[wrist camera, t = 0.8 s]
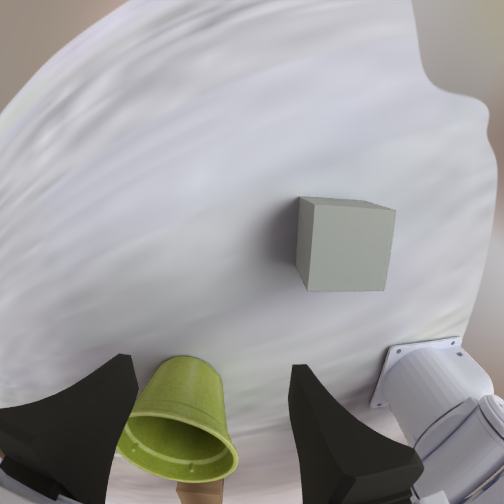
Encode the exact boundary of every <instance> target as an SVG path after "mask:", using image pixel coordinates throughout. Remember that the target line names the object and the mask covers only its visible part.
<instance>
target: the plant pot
mask: <svg viewBox="0 0 504 504" xmlns="http://www.w3.org/2000/svg"><path fill="white" fill-rule="evenodd" d="M116 449H117V451H118V452H119V453H120V454H121V455H122V456H123V457H124V458H126V459H127V460H128V461H129V462H131V463H132V464H134V465H135V466H137V467H139V468H140V469H142V470H144V471H146V472H149V473H151V474H154V475H156V476H159V477H162V478H166V479H170V480H174V481H179V482H188V483H201V482H210V481H216V480H219V479H222V478H224V477H226V476H228V475H230V474H231V473H232V472H233V471H234V470H235V469H236V468H237V465H238V453H237V450H236V448H235V447H234V445H233V444H232V442H231V438H230V436H229V434H228V432H227V424H226V416H225V407H224V396H223V384H222V380H221V377H220V375H219V374H217V373H216V372H215V371H214V370H213V369H212V368H211V367H210V365H209V364H208V363H206V362H204V361H202V360H199V359H196V358H193V357H186V356H178V357H173V358H171V359H169V360H167V361H166V362H164V363H162V364H161V365H160V366H159V368H158V369H157V371H156V372H155V374H154V375H153V377H152V378H151V380H150V381H149V382H148V384H147V385H146V387H145V388H144V390H143V391H142V393H141V394H140V396H139V397H138V399H137V400H136V402H135V404H134V407H133V409H132V412H131V414H130V416H129V418H128V421H127V423H126V425H125V427H124V430H123V432H122V434H121V437H120V439H119V441H118V444H117V447H116Z"/></svg>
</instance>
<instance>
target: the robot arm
mask: <svg viewBox="0 0 504 504" xmlns="http://www.w3.org/2000/svg"><path fill="white" fill-rule="evenodd" d="M461 343H462V338H461V337H460V336H459V337H453V338H447V339H441V340H434V341H427V342H420V343H412V344H404V345H395V346H392V347H390V348H389V350H388V353H387V356H386V360H385V363H384V366H383V369H382V372H381V375H380V378H379V381H378V384H377V386H376V389H375V392H374V395H373V397H372V400H371V403H370V407H371V408H380V407H385V406H390V408H391V410H392V412H393V414H394V416H395V418H396V420H397V422H398V424H399V426H400V428H401V430H402V432H403V434H404V436H405V438H406V440H407V442H408V444H409V446H410V447H409V446H406V445H403V444H401V443H398V442H396V441H393V440H391V439H389V438H387V437H385V436H383V435H381V434H379V433H378V432H376V431H374V430H373V429H371V428H370V427H368V426H366V425H365V424H363V423H362V422H360V421H359V420H358V419H356V418H355V417H354V416H353V415H351V414H350V413H349V412H348V411H347V410H346V409H345V408H344V407H342V406H341V405H340V404H339V403H338V402H337V401H336V400H335V398H334V397H333V396H332V395H331V394H330V393H329V392H328V391H327V390H326V388H325V387H324V386H323V385H322V384H321V382H320V381H319V380H318V379H317V377H316V376H315V375H314V373H313V372H312V371H311V369H310V368H309V366H308V365H307V364H301V365H293V366H292V373H291V380H290V387H289V394H288V404H289V415H290V421H291V425H292V430H293V434H294V439H295V443H296V448H297V452H298V457H299V463H300V473H301V484H302V497H303V504H504V469H503V470H502V471H501V472H500V473H498V474H497V475H496V476H495V477H494V478H493V479H492V480H490V481H489V482H488V483H487V484H486V485H485V486H484V487H482V488H481V489H480V490H479V491H477V492H476V493H475V494H473V495H472V496H470V497H468V498H465V497H467V496H468V495H469V494H470V493H472V492H473V491H474V490H476V489H477V488H478V487H479V486H481V485H482V484H483V483H484V482H485V481H486V480H488V479H489V478H490V477H491V476H492V475H493V474H494V473H496V471H498V470H499V469H500V468H501V467H502V466H503V465H504V400H502V399H501V398H500V397H498V396H496V395H494V389H493V385H492V382H491V379H490V377H489V376H488V374H487V373H486V372H485V371H484V370H483V369H482V368H481V367H480V366H479V365H478V364H477V363H476V362H475V361H474V360H473V359H472V357H471V356H469V354H468V353H466V351H465V350H464V349H463V348H461ZM397 350H398V351H397ZM138 389H139V387H138V383H137V379H136V375H135V371H134V367H133V363H132V358H131V355H124V354H118V355H116V356H115V357H113V358H112V359H111V360H109V361H108V362H106V363H105V364H104V365H102V366H101V367H100V368H98V369H97V370H95V371H94V372H93V373H91V374H90V375H88V376H87V377H85V378H84V379H82V380H80V381H79V382H77V383H76V384H74V385H72V386H71V387H69V388H67V389H65V390H63V391H61V392H59V393H57V394H55V395H52V396H50V397H47V398H45V399H42V400H39V401H36V402H33V403H29V404H25V405H21V406H16V407H9V408H1V409H0V449H1V451H2V452H3V453H4V454H5V457H4V459H2V458H1V457H0V504H105V499H106V491H107V485H108V479H109V474H110V469H111V465H112V461H113V457H114V454H115V450H116V447H117V444H118V441H119V439H120V437H121V434H122V432H123V430H124V427H125V425H126V423H127V421H128V418H129V416H130V414H131V412H132V409H133V407H134V404H135V400H136V397H137V393H138ZM464 498H465V499H464Z"/></svg>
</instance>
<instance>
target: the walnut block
mask: <svg viewBox="0 0 504 504" xmlns="http://www.w3.org/2000/svg"><path fill="white" fill-rule="evenodd" d="M223 485H224V478H222V479H219V480H216V481H210V482H201V483H188V482H179V481H178V483H177V489H176V491H177V493H178V496H179V498H180V500H181V503H182V504H222V500H223Z"/></svg>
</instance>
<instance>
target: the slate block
mask: <svg viewBox="0 0 504 504" xmlns="http://www.w3.org/2000/svg"><path fill="white" fill-rule="evenodd" d="M395 215H396V210H393V209H390V208H386V207H383V206H380V205H377V204H373V203H370V202H367V201H359V200H347V199H333V198H318V197H300V196H299V213H298V229H297V244H296V258H295V266H296V268H297V270H298V272H299V275H300V277H301V279H302V281H303V283H304V285H305V287H306V290H307V292H344V291H384V289H385V284H386V278H387V273H388V267H389V261H390V254H391V247H392V240H393V232H394V224H395Z"/></svg>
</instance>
